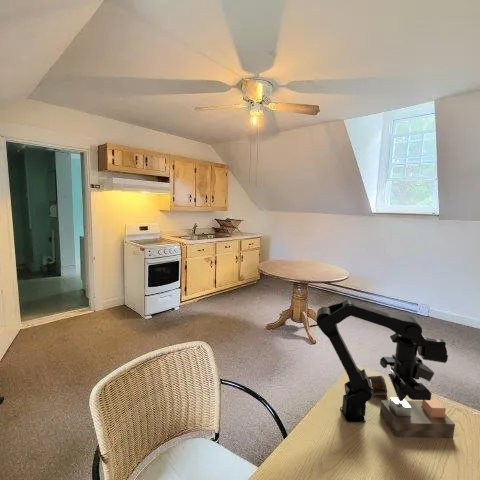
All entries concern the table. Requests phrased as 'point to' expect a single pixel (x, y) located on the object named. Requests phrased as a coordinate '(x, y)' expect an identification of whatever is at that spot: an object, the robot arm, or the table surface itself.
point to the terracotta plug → (433, 408)
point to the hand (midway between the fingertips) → (400, 400)
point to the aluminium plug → (400, 407)
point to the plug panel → (417, 423)
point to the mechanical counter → (378, 385)
